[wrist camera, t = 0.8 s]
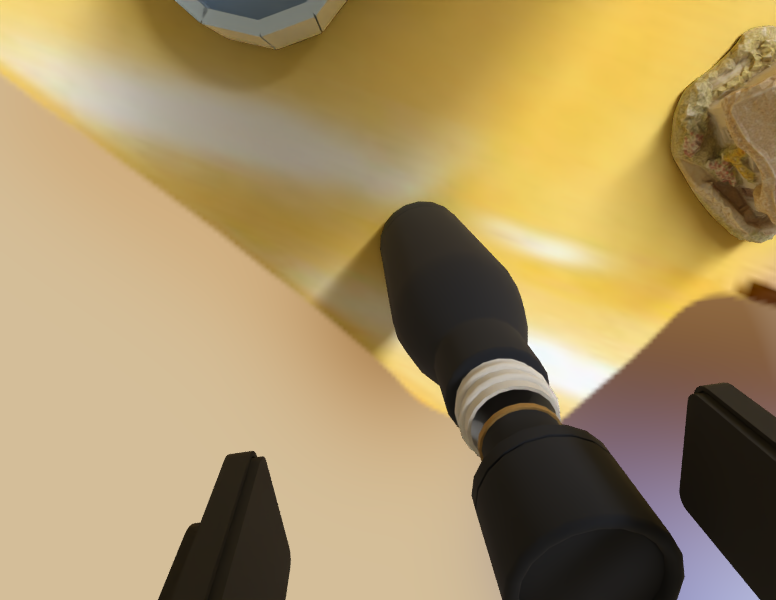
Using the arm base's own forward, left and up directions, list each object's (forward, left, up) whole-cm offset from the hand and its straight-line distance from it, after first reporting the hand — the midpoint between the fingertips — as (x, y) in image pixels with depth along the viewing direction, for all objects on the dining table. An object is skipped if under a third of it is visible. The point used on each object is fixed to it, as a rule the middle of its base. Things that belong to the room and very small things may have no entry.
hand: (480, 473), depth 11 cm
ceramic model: (-11, +25, -29) cm, 40 cm away
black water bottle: (+1, +3, -29) cm, 29 cm away
